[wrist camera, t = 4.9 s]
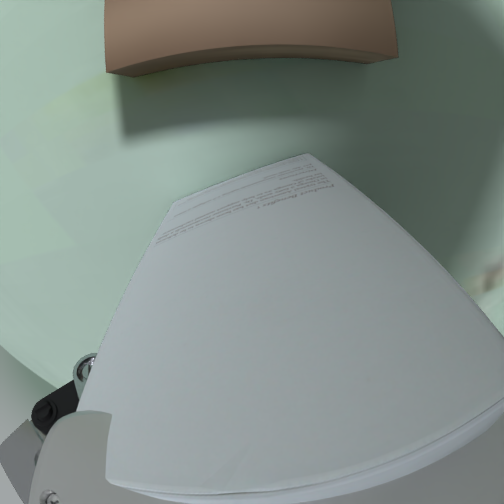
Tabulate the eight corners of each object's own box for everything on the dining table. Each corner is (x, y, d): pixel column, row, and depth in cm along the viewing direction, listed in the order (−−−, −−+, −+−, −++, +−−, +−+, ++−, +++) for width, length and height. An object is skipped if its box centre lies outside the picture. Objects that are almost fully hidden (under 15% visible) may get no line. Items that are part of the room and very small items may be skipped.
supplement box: (226, 307, 17) (221, 525, 6) (170, 198, 13) (41, 470, 2) (343, 270, 16) (432, 480, 5) (313, 148, 12) (549, 375, 1)
